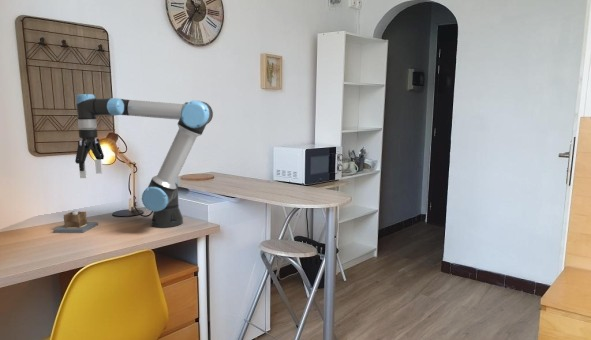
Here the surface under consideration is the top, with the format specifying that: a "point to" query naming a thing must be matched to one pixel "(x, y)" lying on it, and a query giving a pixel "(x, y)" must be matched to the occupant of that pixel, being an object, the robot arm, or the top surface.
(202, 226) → the top surface
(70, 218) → the collar
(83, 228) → the post block
